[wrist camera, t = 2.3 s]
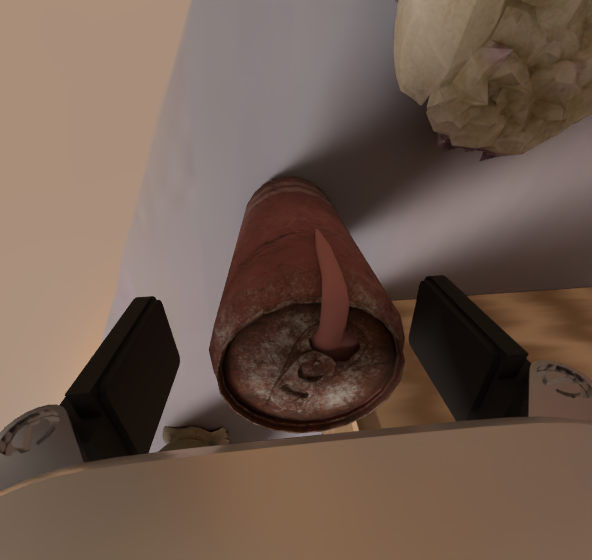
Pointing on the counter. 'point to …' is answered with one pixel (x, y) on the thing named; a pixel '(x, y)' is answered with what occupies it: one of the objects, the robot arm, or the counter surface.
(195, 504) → the robot arm
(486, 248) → the counter surface
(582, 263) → the counter surface
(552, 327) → the zigzag grain wooden box
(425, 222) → the counter surface
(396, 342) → the can
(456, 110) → the geode
